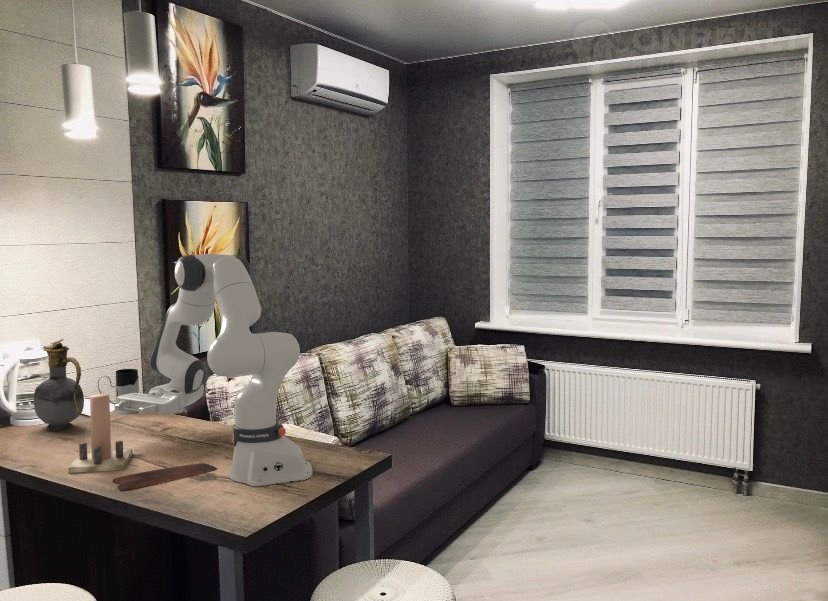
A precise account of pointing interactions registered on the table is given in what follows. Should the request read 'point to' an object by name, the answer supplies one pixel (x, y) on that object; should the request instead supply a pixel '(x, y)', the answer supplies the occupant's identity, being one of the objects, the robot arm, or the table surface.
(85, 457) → the peg stand
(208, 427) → the table surface
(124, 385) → the glass holder
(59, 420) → the pitcher
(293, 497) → the table surface
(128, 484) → the wooden tablet
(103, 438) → the post
